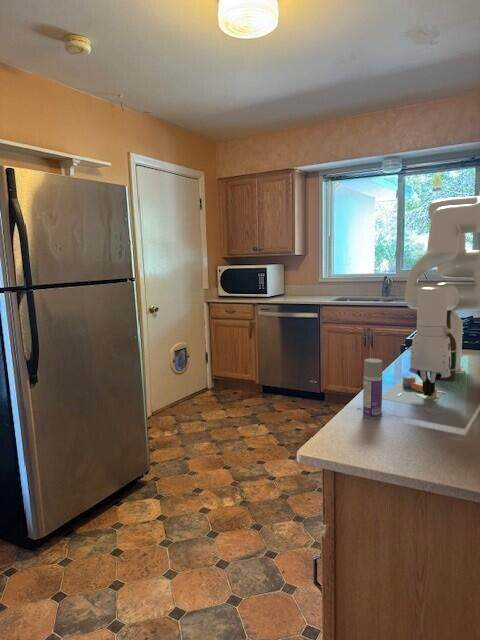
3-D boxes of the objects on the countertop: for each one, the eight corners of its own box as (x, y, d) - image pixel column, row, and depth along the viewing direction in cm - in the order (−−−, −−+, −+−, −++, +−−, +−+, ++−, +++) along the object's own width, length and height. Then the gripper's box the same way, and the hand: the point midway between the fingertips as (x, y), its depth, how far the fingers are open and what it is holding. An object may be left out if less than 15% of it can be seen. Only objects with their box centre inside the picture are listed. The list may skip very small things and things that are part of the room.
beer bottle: (458, 385, 137) (462, 310, 134) (432, 384, 139) (435, 310, 135) (451, 378, 145) (455, 307, 141) (426, 377, 147) (429, 307, 143)
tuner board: (402, 383, 141) (402, 379, 141) (450, 390, 132) (451, 386, 132) (378, 402, 124) (378, 397, 124) (432, 412, 115) (432, 407, 115)
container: (381, 413, 115) (382, 358, 113) (381, 419, 111) (382, 363, 109) (363, 411, 117) (364, 357, 115) (362, 417, 112) (363, 362, 110)
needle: (400, 385, 134) (400, 376, 133) (409, 383, 135) (409, 375, 135) (430, 396, 123) (430, 387, 123) (439, 394, 124) (439, 385, 124)
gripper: (463, 331, 118) (460, 395, 121) (407, 327, 127) (405, 387, 130) (457, 335, 113) (454, 403, 115) (399, 330, 122) (397, 393, 124)
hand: (428, 394), depth 123 cm, fingers closed
